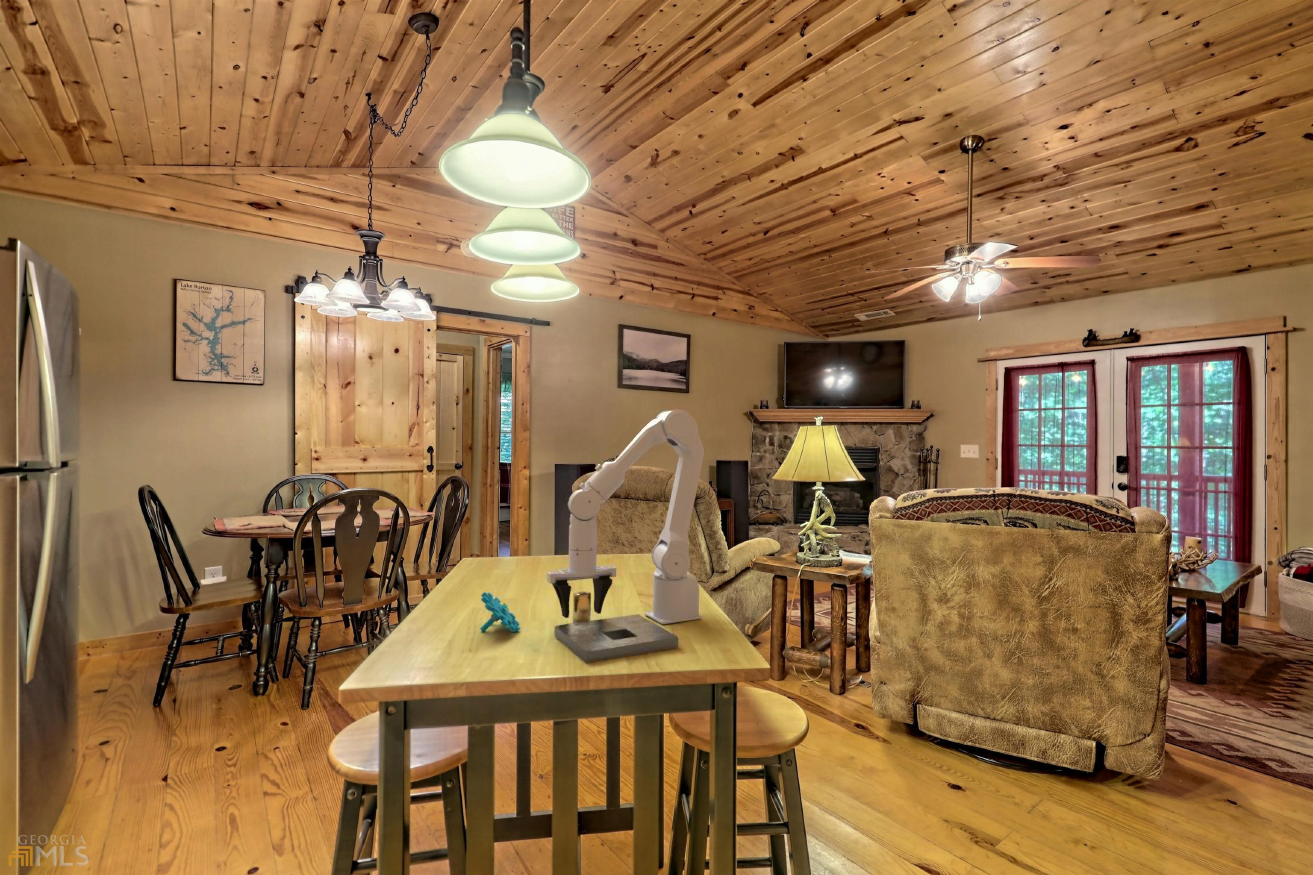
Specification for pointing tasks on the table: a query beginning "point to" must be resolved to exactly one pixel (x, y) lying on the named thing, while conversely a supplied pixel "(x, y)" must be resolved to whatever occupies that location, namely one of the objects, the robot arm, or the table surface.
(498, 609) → the gear
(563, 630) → the plate
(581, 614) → the bushing
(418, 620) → the table surface
